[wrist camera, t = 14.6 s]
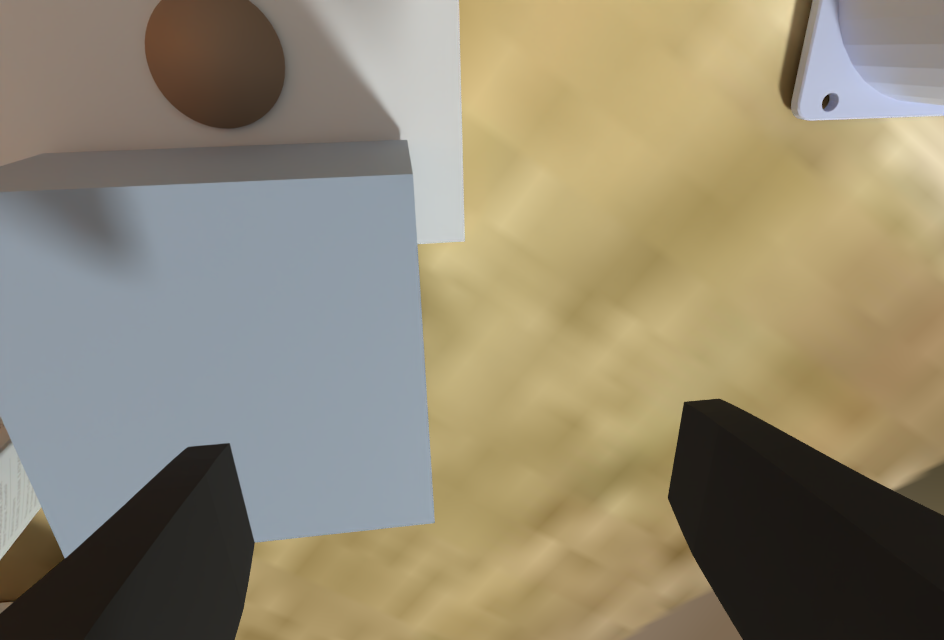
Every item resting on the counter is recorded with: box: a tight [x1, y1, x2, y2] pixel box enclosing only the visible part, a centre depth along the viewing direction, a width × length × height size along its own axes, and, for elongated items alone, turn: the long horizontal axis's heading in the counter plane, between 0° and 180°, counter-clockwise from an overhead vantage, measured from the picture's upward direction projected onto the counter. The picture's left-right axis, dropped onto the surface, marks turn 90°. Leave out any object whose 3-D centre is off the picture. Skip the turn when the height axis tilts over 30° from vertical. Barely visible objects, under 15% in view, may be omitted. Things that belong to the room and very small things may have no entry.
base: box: [0, 0, 465, 244], centre depth 14 cm, size 12×10×1 cm
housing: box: [0, 140, 435, 558], centre depth 15 cm, size 9×9×5 cm
